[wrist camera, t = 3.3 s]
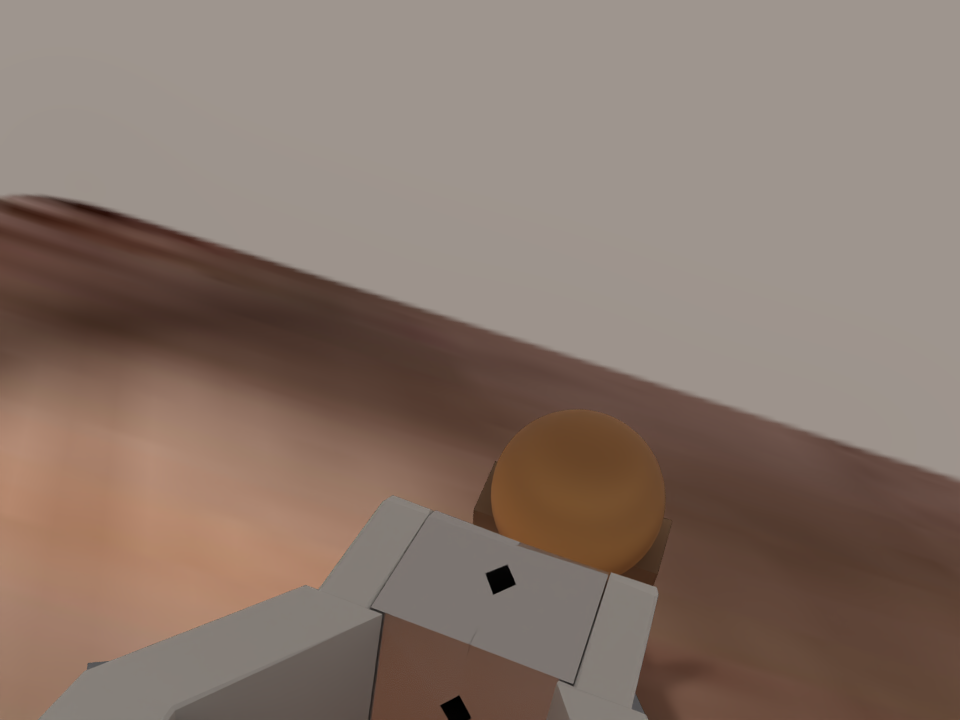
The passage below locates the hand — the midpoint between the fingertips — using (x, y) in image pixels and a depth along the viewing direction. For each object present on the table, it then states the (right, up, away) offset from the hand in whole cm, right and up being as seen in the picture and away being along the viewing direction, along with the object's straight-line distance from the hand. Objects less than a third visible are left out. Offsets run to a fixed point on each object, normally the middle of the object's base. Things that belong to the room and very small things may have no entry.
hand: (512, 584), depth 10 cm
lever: (+1, -11, +20) cm, 23 cm away
